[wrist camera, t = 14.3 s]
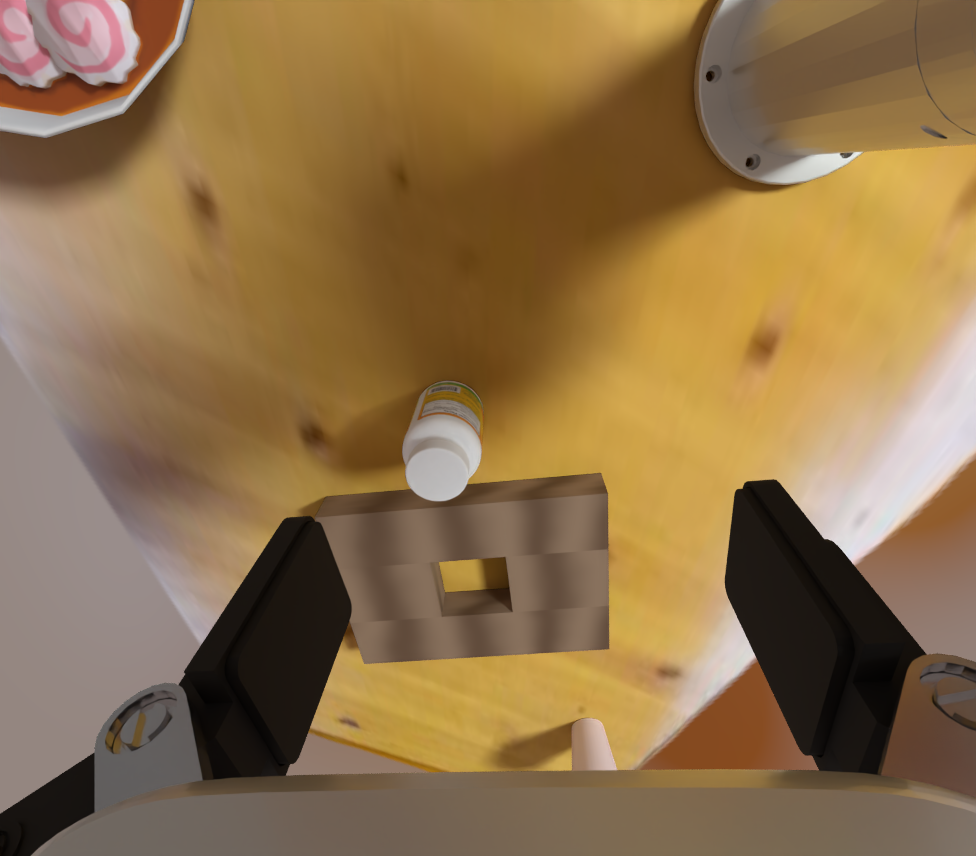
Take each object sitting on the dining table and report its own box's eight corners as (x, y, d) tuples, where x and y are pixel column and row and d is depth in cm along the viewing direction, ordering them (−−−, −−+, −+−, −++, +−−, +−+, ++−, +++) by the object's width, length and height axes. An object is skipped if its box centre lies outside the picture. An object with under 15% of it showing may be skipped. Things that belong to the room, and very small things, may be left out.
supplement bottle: (452, 451, 41) (440, 525, 33) (402, 410, 40) (375, 476, 31) (498, 410, 39) (497, 476, 31) (448, 365, 38) (432, 421, 29)
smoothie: (579, 704, 56) (602, 856, 43) (626, 721, 57) (661, 874, 45) (549, 734, 58) (563, 885, 46) (595, 750, 60) (620, 902, 47)
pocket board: (600, 473, 42) (607, 493, 39) (603, 623, 50) (609, 649, 47) (325, 496, 44) (314, 517, 41) (371, 638, 52) (364, 663, 49)
